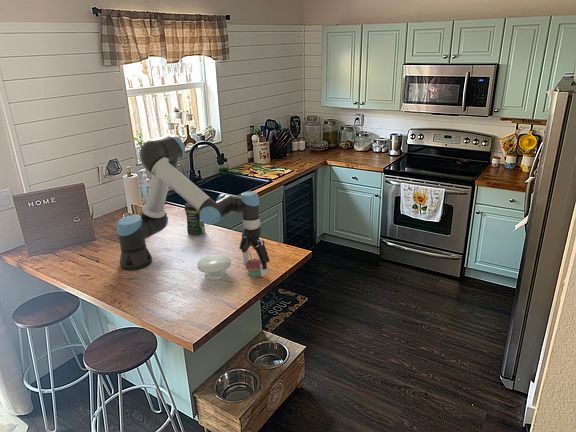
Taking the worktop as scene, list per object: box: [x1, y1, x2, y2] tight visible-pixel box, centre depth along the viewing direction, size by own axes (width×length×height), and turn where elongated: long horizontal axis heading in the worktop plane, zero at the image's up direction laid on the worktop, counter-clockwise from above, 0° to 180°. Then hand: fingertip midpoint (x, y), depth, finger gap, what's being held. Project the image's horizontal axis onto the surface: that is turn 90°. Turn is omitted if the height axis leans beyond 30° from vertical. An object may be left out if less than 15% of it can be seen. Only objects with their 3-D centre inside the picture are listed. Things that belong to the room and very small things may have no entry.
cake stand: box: [197, 254, 232, 281], centre depth 200 cm, size 15×15×6 cm
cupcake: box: [245, 250, 261, 277], centre depth 198 cm, size 9×8×12 cm
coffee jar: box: [184, 201, 206, 236], centre depth 244 cm, size 10×8×19 cm
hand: (255, 269), depth 200 cm, fingers open, 13 cm apart
